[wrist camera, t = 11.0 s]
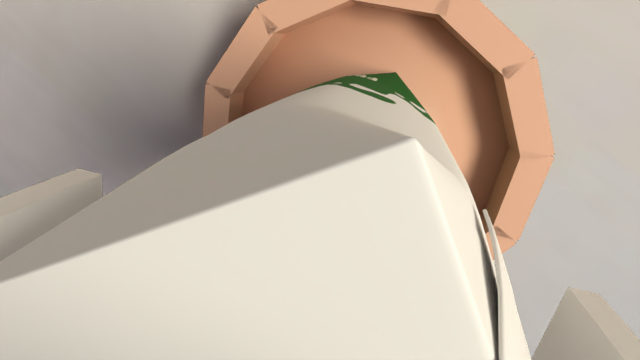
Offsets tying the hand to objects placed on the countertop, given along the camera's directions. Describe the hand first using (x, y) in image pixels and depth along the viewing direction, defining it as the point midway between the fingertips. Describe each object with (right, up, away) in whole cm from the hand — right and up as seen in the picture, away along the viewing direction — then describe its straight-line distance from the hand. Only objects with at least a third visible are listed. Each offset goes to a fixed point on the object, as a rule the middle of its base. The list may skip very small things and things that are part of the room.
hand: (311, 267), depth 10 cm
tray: (+3, +5, +12) cm, 13 cm away
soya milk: (+3, +4, +12) cm, 13 cm away
